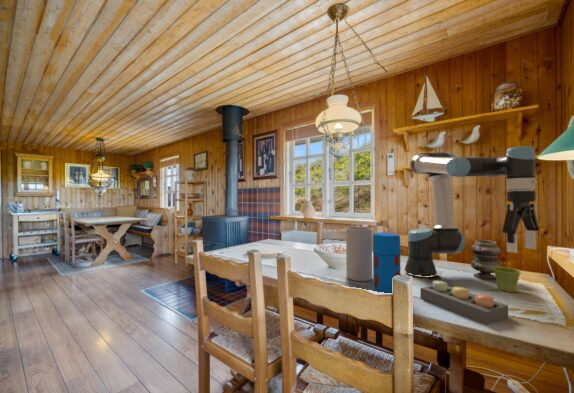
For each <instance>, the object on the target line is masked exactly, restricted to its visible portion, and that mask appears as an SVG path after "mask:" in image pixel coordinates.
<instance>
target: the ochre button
mask: <svg viewBox="0 0 574 393" xmlns="http://www.w3.org/2000/svg"><path fill="white" fill-rule="evenodd" d="M469 291H470V290H469V289H468V288H466V287H462V286H453V288H452V296H453V297H456V298H459V299H462V300H467V299H469V293H470V292H469Z"/></svg>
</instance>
